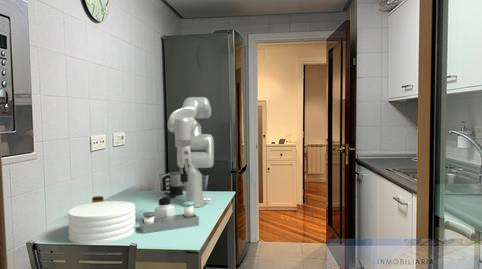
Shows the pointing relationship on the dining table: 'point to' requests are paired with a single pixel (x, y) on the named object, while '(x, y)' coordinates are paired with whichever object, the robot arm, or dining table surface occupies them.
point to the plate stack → (101, 222)
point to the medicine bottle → (164, 207)
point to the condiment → (97, 199)
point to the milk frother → (173, 184)
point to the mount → (168, 223)
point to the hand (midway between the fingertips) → (184, 181)
